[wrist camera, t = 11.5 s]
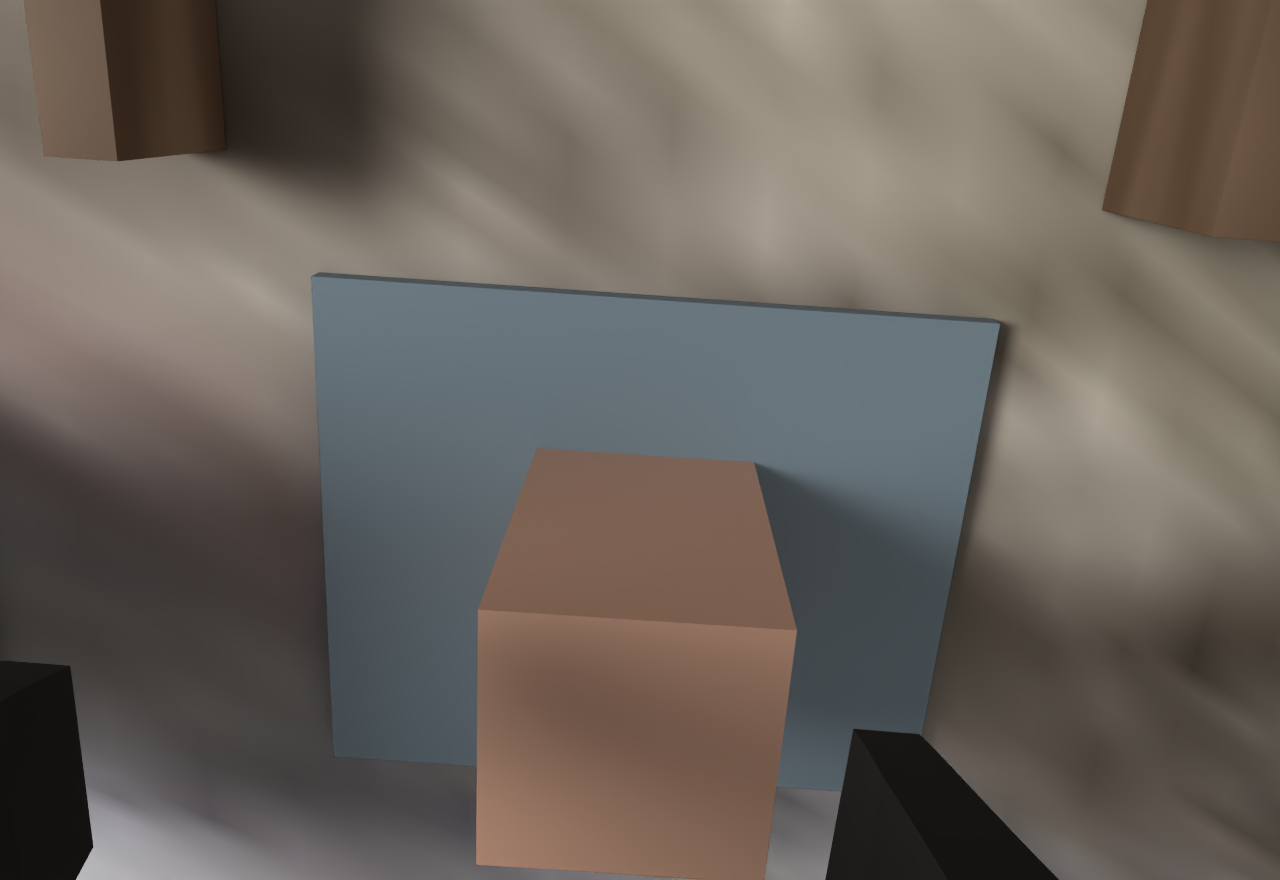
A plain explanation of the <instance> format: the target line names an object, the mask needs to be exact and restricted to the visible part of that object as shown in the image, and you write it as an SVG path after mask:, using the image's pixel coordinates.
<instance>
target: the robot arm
mask: <svg viewBox="0 0 1280 880" xmlns="http://www.w3.org/2000/svg"><path fill="white" fill-rule="evenodd" d="M92 848H93V841H92V833H91V825H90V817H89V809H88V802H87V794H86V786H85V778H84V770H83V762H82V755H81V747H80V739H79V731H78V723H77V716H76V708H75V700H74V692H73V684H72V676H71V669H70V666H64V665H52V664H39V663H27V662H14V661H1V662H0V880H76V878H77V876H78V875H79V873H80V871H81V869H82V867H83V865H84V863H85V861H86V859H87V858H88V856H89V854H90V852H91V850H92ZM826 880H1059V879H1058V878H1057V877H1056V876H1055V875H1054V874H1053V873H1052V872H1051V871H1050V870H1049V869H1048V868H1047V867H1046V866H1045V865H1044V864H1043V863H1042V862H1041V861H1040V860H1039V859H1038V858H1037V857H1036V856H1035V855H1034V854H1033V853H1032V852H1031V851H1030V850H1029V849H1028V848H1027V846H1026V845H1025V844H1024V843H1023V842H1022V841H1021V840H1020V839H1019V838H1018V837H1017V836H1016V835H1015V834H1014V833H1013V832H1012V831H1011V830H1010V829H1009V828H1008V827H1007V826H1006V825H1005V823H1004V822H1003V821H1002V820H1001V819H1000V818H999V817H998V816H997V815H996V814H995V813H994V812H993V811H992V810H991V809H990V808H989V807H988V805H987V804H986V803H985V802H984V801H983V800H982V799H981V798H980V797H979V796H978V795H977V794H976V793H975V792H974V791H973V790H972V788H971V787H970V786H969V785H968V784H967V783H966V782H965V781H964V780H963V779H962V778H961V777H960V776H959V775H958V774H957V772H956V771H955V770H954V769H953V768H952V767H951V766H950V765H949V764H948V763H947V762H946V761H945V760H944V759H943V758H942V757H941V756H940V755H939V753H938V752H937V751H936V750H935V749H934V748H933V747H932V746H931V745H930V744H929V743H928V742H927V741H926V740H925V739H924V738H923V737H922V736H921V735H920V734H914V733H901V732H889V731H876V730H864V729H853V733H852V738H851V744H850V749H849V755H848V760H847V766H846V771H845V777H844V782H843V787H842V793H841V798H840V804H839V809H838V815H837V820H836V825H835V831H834V836H833V842H832V847H831V853H830V858H829V864H828V869H827V874H826Z"/></svg>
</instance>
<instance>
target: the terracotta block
mask: <svg viewBox="0 0 1280 880" xmlns="http://www.w3.org/2000/svg"><path fill="white" fill-rule="evenodd" d="M796 634H797V629H796V625H795V621H794V617H793V613H792V609H791V605H790V601H789V597H788V593H787V589H786V585H785V582H784V578H783V574H782V570H781V566H780V562H779V558H778V554H777V550H776V546H775V542H774V538H773V535H772V531H771V527H770V523H769V519H768V515H767V511H766V507H765V503H764V499H763V495H762V491H761V487H760V484H759V480H758V476H757V472H756V468H755V464H754V462H741V461H726V460H710V459H695V458H680V457H664V456H649V455H634V454H618V453H603V452H588V451H573V450H557V449H542V448H536V451H535V454H534V457H533V459H532V462H531V465H530V468H529V470H528V473H527V476H526V479H525V481H524V484H523V487H522V490H521V492H520V495H519V498H518V501H517V503H516V506H515V509H514V512H513V515H512V517H511V520H510V523H509V526H508V528H507V531H506V534H505V537H504V539H503V542H502V545H501V548H500V550H499V553H498V556H497V559H496V561H495V564H494V567H493V570H492V572H491V575H490V578H489V581H488V583H487V586H486V589H485V592H484V594H483V597H482V600H481V603H480V605H479V608H478V674H477V812H476V865H488V866H504V867H519V868H534V869H549V870H565V871H580V872H595V873H611V874H626V875H641V876H657V877H672V878H687V879H702V880H764V879H765V871H766V863H767V856H768V848H769V840H770V833H771V825H772V818H773V810H774V802H775V795H776V787H777V779H778V772H779V764H780V756H781V749H782V741H783V733H784V726H785V718H786V711H787V703H788V695H789V688H790V680H791V672H792V665H793V657H794V649H795V642H796Z"/></svg>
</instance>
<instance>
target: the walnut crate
mask: <svg viewBox="0 0 1280 880" xmlns="http://www.w3.org/2000/svg"><path fill="white" fill-rule="evenodd" d="M24 6H25V14H26V21H27V29H28V36H29V44H30V52H31V59H32V67H33V74H34V82H35V89H36V97H37V105H38V112H39V120H40V127H41V135H42V142H43V150H44V156H48V157H62V158H77V159H91V160H106V161H125V160H134V159H143V158H152V157H162V156H171V155H180V154H189V153H198V152H208V151H217V150H226V142H225V128H224V114H223V101H222V87H221V73H220V59H219V46H218V32H217V18H216V4H215V0H24ZM1102 210H1104V211H1108V212H1112V213H1117V214H1121V215H1125V216H1129V217H1133V218H1137V219H1141V220H1145V221H1149V222H1153V223H1157V224H1161V225H1165V226H1170V227H1174V228H1178V229H1182V230H1186V231H1190V232H1194V233H1198V234H1202V235H1206V236H1210V237H1222V238H1236V239H1251V240H1265V241H1280V0H1148V1H1147V6H1146V10H1145V15H1144V19H1143V24H1142V29H1141V33H1140V38H1139V42H1138V47H1137V52H1136V56H1135V61H1134V65H1133V70H1132V74H1131V79H1130V84H1129V88H1128V93H1127V97H1126V102H1125V107H1124V111H1123V116H1122V120H1121V125H1120V130H1119V134H1118V139H1117V143H1116V148H1115V153H1114V157H1113V162H1112V166H1111V171H1110V176H1109V180H1108V185H1107V189H1106V194H1105V199H1104V203H1103V208H1102Z"/></svg>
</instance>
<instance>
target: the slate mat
mask: <svg viewBox="0 0 1280 880" xmlns="http://www.w3.org/2000/svg"><path fill="white" fill-rule="evenodd" d="M311 283H312V305H313V326H314V347H315V369H316V390H317V412H318V433H319V454H320V476H321V497H322V519H323V540H324V561H325V583H326V604H327V626H328V647H329V668H330V690H331V711H332V733H333V754H334V757H345V758H360V759H374V760H389V761H403V762H418V763H433V764H447V765H462V766H477V674H478V608H479V605H480V603H481V600H482V597H483V594H484V592H485V589H486V586H487V583H488V581H489V578H490V575H491V572H492V570H493V567H494V564H495V561H496V559H497V556H498V553H499V550H500V548H501V545H502V542H503V539H504V537H505V534H506V531H507V528H508V526H509V523H510V520H511V517H512V515H513V512H514V509H515V506H516V503H517V501H518V498H519V495H520V492H521V490H522V487H523V484H524V481H525V479H526V476H527V473H528V470H529V468H530V465H531V462H532V459H533V457H534V454H535V451H536V448H542V449H557V450H573V451H588V452H603V453H618V454H634V455H649V456H664V457H680V458H695V459H710V460H726V461H741V462H754V464H755V468H756V472H757V476H758V480H759V484H760V487H761V491H762V495H763V499H764V503H765V507H766V511H767V515H768V519H769V523H770V527H771V531H772V535H773V538H774V542H775V546H776V550H777V554H778V558H779V562H780V566H781V570H782V574H783V578H784V582H785V585H786V589H787V593H788V597H789V601H790V605H791V609H792V613H793V617H794V621H795V625H796V629H797V634H796V642H795V649H794V657H793V665H792V672H791V680H790V688H789V695H788V703H787V711H786V718H785V726H784V733H783V741H782V749H781V756H780V764H779V772H778V779H777V787H784V788H798V789H813V790H828V791H842V787H843V782H844V777H845V771H846V766H847V760H848V755H849V749H850V744H851V738H852V733H853V729H864V730H876V731H889V732H901V733H914V734H920V735H921V736H922V731H923V726H924V720H925V715H926V710H927V705H928V699H929V694H930V689H931V684H932V679H933V673H934V668H935V663H936V658H937V652H938V647H939V642H940V637H941V631H942V626H943V621H944V616H945V610H946V605H947V600H948V595H949V590H950V584H951V579H952V574H953V569H954V563H955V558H956V553H957V548H958V542H959V537H960V532H961V527H962V521H963V516H964V511H965V506H966V501H967V495H968V490H969V485H970V480H971V474H972V469H973V464H974V459H975V453H976V448H977V443H978V438H979V432H980V427H981V422H982V417H983V412H984V406H985V401H986V396H987V391H988V385H989V380H990V375H991V370H992V364H993V359H994V354H995V349H996V343H997V338H998V333H999V328H1000V323H998V322H997V321H995V320H994V319H987V318H972V317H957V316H943V315H928V314H914V313H899V312H885V311H870V310H856V309H841V308H827V307H812V306H798V305H783V304H769V303H754V302H740V301H725V300H711V299H696V298H682V297H667V296H653V295H638V294H624V293H609V292H595V291H580V290H566V289H551V288H536V287H522V286H507V285H493V284H478V283H464V282H449V281H435V280H420V279H406V278H391V277H377V276H362V275H348V274H333V273H317V274H315V275H313V276H311Z"/></svg>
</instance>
